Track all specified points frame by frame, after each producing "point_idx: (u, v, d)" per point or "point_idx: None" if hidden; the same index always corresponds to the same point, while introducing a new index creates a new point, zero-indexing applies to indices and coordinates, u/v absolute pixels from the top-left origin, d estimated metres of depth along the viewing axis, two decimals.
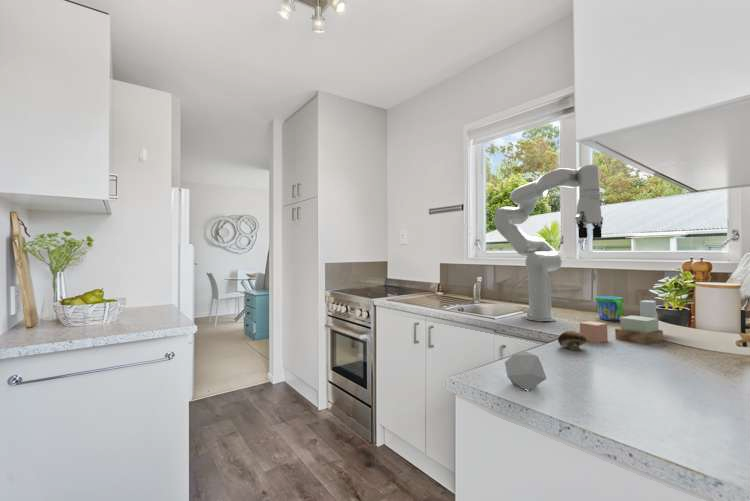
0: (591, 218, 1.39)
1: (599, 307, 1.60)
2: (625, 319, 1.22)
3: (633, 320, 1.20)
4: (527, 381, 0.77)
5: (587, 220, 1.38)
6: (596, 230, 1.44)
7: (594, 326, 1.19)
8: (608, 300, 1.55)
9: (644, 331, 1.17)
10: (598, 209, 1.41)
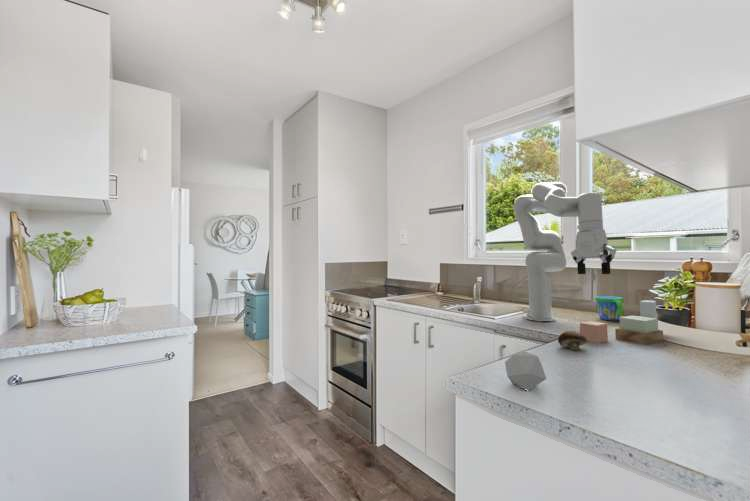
0: None
1: (599, 307, 1.60)
2: (624, 319, 1.22)
3: (632, 320, 1.20)
4: (527, 381, 0.77)
5: None
6: (582, 265, 1.30)
7: (594, 326, 1.19)
8: (608, 300, 1.55)
9: (643, 331, 1.17)
10: None
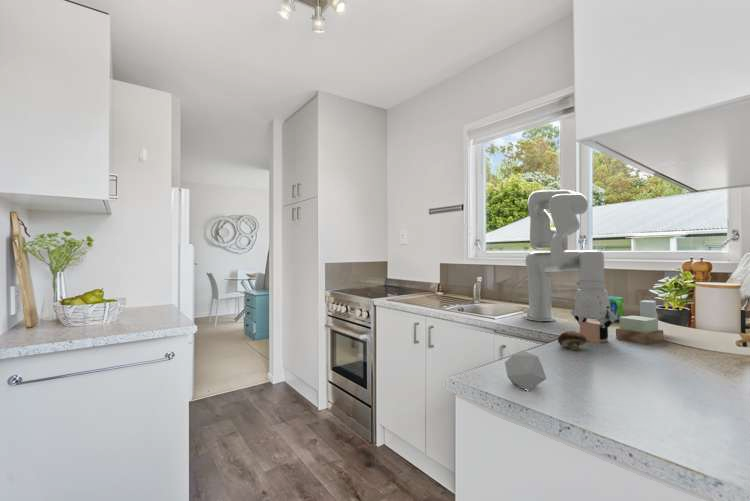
0: None
1: None
2: (624, 319, 1.22)
3: (632, 320, 1.20)
4: (527, 381, 0.77)
5: None
6: None
7: (594, 326, 1.19)
8: None
9: (643, 331, 1.17)
10: None
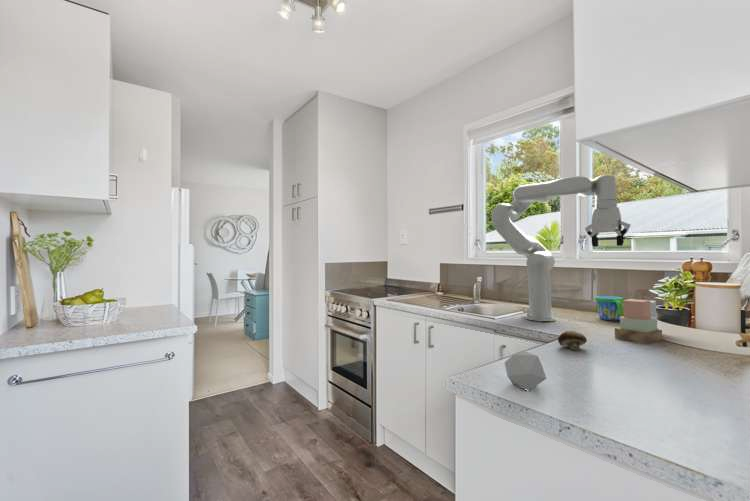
0: None
1: (599, 307, 1.60)
2: (625, 319, 1.22)
3: (633, 320, 1.20)
4: (527, 381, 0.77)
5: None
6: (596, 239, 1.50)
7: (640, 303, 1.19)
8: (608, 300, 1.55)
9: (644, 331, 1.17)
10: None
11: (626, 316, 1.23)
